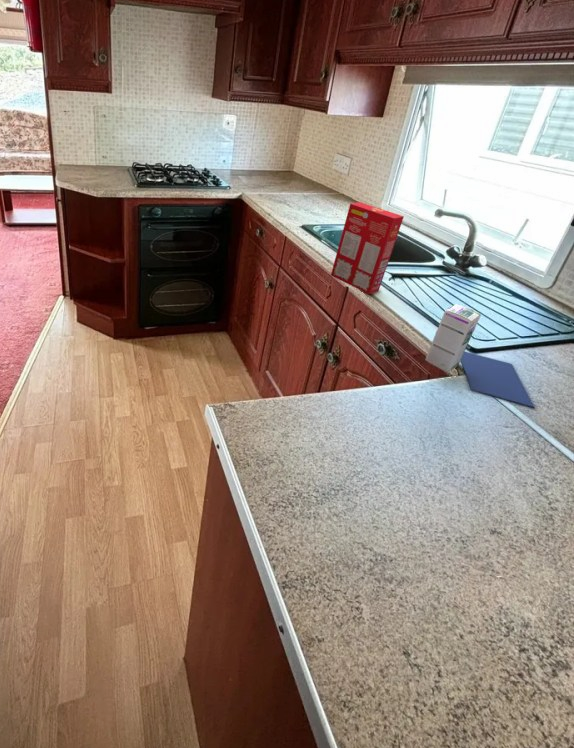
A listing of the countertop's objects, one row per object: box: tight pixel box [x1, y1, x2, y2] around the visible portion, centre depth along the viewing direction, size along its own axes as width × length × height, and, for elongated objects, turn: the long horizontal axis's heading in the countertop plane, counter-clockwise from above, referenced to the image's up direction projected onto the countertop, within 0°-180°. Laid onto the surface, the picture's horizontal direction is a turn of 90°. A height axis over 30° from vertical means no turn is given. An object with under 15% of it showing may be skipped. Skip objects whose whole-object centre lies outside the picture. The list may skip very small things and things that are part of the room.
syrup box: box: [424, 303, 482, 374], centre depth 94 cm, size 6×6×14 cm
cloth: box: [460, 351, 535, 409], centre depth 94 cm, size 12×16×1 cm
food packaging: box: [330, 201, 404, 295], centre depth 127 cm, size 15×5×25 cm, turn 37°
